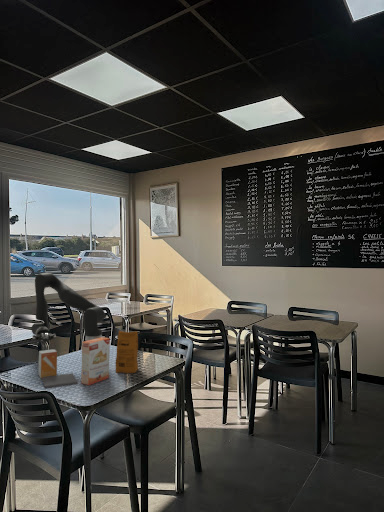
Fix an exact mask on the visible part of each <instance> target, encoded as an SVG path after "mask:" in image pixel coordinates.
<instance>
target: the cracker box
mask: <svg viewBox="0 0 384 512" xmlns="http://www.w3.org/2000/svg"><path fill="white" fill-rule="evenodd" d="M110 339H111V338H109V337H103V336H102V337H101V338H97V339H93V340H88V341H86V340H85V341H81V371H80V372H81V378H80V379H81V380H80V381H81V384H84V385H85V386H91V385H93V384H96V383H99V382H101V381H104V380H107V379H109V378H110V353H111V350H110V347H111V345H110V344H111V341H110Z"/></svg>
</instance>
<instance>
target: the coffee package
mask: <svg viewBox="0 0 384 512" xmlns="http://www.w3.org/2000/svg"><path fill="white" fill-rule="evenodd" d="M138 352H139V338H138V331H136V330H135V331H129V332H128V331H123V330H122V331H121V330H119V331H118V334H117V344H116V357H115V373H117V374H119V373H123V374H135V373H136V372H137V371H138V370H139V362H138V354H139V353H138Z"/></svg>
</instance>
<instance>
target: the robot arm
mask: <svg viewBox="0 0 384 512" xmlns="http://www.w3.org/2000/svg"><path fill="white" fill-rule="evenodd" d="M34 278H35V279H34V288H35V290H34V291H35V298H36V306H35V307H36V308H35V309H36V310H35V319H36V321H41V322H34V323H33V324H32V325H31V333H32V334H33V335H32V341H35V342H36V341H37V342H40V343H41V342H43V343H48V342H49V341H52V340H55V339H56V337H57V334H56V333H53V334H52V333H51V332H50V331H51V330H50V329H51V328H50V324H49V319H48V317H49V315H48V314H49V304H48V302H47V301H48V300H46V296H45V290H46V288H51V289H53V290H54V291H55V292H57V295H58V298H59V299H60V301H61V302H62V303H64V304H65V305H67V306H68V307H70V308H73V309H76V310H79V311H82V312H84V314H83V329H84V332H85V341H88V340H93V339H97V338H101V337H103V331H102V329H101V328H99V326H98V324H99V323H101V322H102V321H104V320H105V319H106V313H105V312H106V311H104V309H103V308H102V307H100V306H99V305H96V304H94V303H93V302H91V301H89V300H88V299H87V298H86V297H84V296H83V295H82V294H79V293H78V292H77V291H76V290H74V289H72V288H71V287H69V286H68V285H67V284H65V283H64V282H63V281H61V280H60V279H59V277H57V276H56V275H55V274H53V273H52V272H42V273H38V274H37V275H36V276H35V277H34Z"/></svg>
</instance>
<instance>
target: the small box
mask: <svg viewBox="0 0 384 512" xmlns="http://www.w3.org/2000/svg"><path fill="white" fill-rule="evenodd" d="M57 371H58V351H57V350H56V349H55V348H54V349H53V348H52V349H45V350H39V351H38V376H39V378H40V379H42V377H47V376H55V375H58V372H57Z"/></svg>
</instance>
